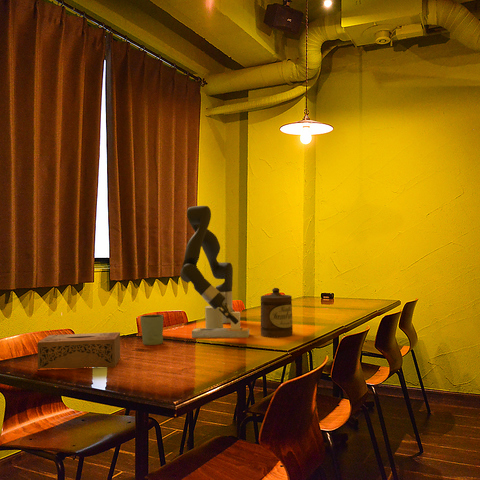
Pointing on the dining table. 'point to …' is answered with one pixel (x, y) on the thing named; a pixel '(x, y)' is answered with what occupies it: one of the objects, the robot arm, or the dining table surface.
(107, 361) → the tissue box cover
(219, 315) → the can
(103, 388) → the dining table surface
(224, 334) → the rail
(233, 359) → the dining table surface
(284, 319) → the wooden container
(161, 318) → the grey green cup
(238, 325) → the block
